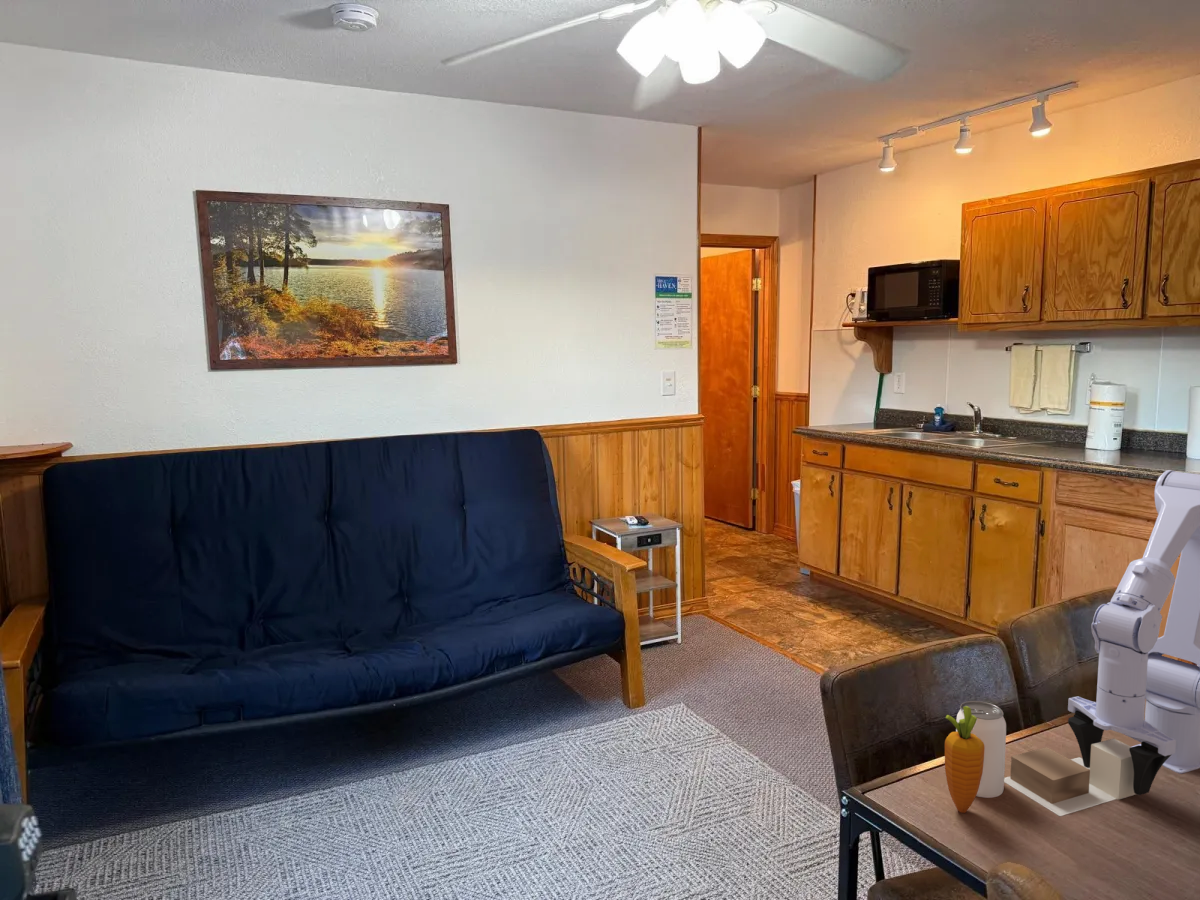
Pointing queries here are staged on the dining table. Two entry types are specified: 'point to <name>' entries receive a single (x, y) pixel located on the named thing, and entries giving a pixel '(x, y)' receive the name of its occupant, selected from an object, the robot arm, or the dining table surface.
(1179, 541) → the robot arm
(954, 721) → the carrot
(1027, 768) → the brown block
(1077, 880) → the dining table surface
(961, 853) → the dining table surface
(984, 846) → the dining table surface
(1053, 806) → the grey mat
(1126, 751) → the cream block
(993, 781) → the can
